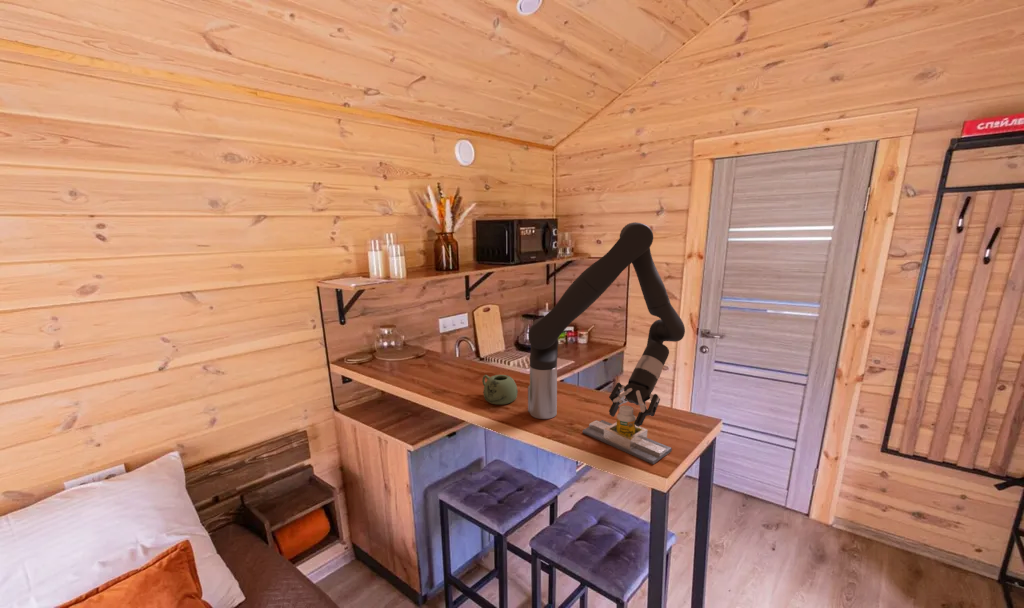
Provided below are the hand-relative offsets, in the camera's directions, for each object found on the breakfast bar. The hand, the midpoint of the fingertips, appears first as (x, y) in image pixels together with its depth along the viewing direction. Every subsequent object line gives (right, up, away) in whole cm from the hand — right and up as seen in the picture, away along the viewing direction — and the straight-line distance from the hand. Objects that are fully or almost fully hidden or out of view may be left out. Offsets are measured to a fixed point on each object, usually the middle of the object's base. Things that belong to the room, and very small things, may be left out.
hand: (623, 420), depth 122 cm
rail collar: (+1, -7, +2) cm, 7 cm away
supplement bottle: (+1, -6, +2) cm, 7 cm away
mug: (-38, -2, +35) cm, 52 cm away
